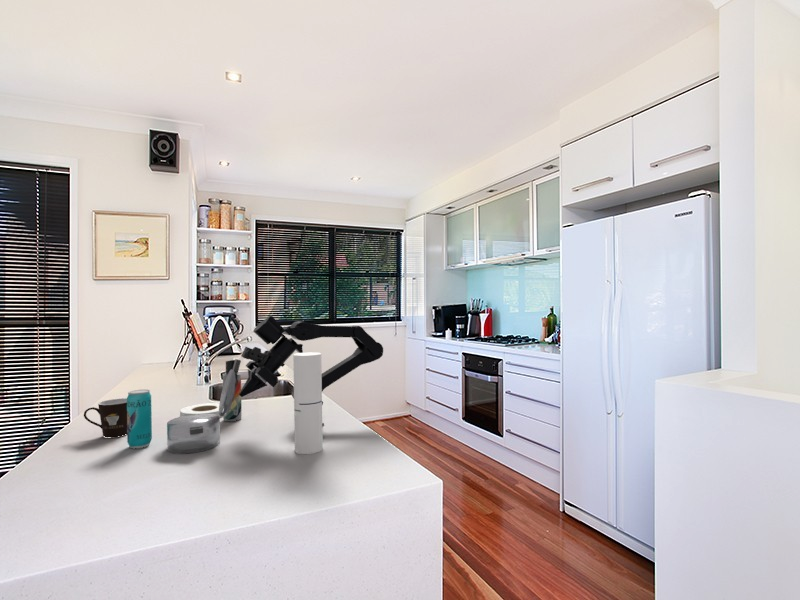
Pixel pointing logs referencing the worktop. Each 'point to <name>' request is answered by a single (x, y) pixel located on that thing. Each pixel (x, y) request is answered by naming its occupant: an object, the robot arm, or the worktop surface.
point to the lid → (229, 389)
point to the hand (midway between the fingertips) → (240, 395)
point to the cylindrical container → (308, 402)
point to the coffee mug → (111, 417)
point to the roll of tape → (201, 409)
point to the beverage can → (139, 418)
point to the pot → (193, 433)
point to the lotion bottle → (235, 408)
